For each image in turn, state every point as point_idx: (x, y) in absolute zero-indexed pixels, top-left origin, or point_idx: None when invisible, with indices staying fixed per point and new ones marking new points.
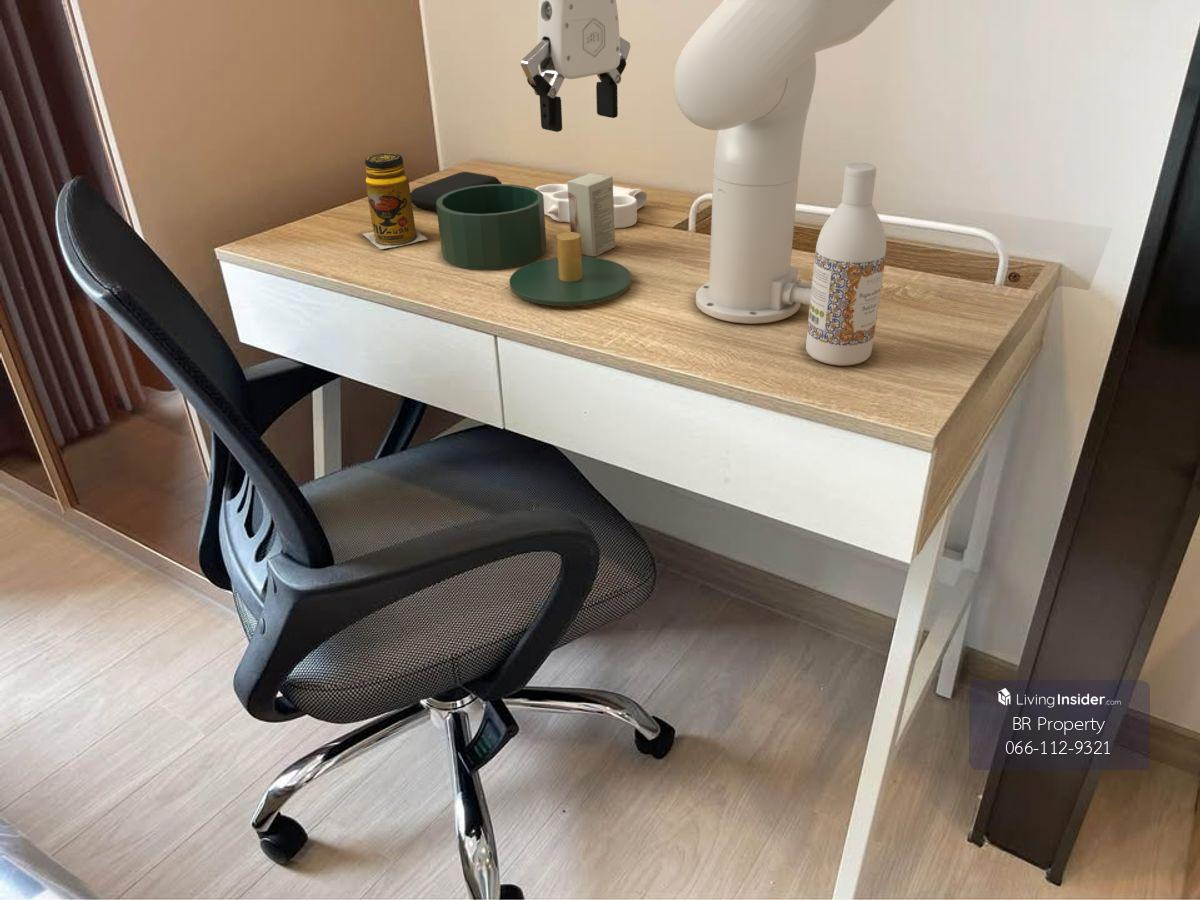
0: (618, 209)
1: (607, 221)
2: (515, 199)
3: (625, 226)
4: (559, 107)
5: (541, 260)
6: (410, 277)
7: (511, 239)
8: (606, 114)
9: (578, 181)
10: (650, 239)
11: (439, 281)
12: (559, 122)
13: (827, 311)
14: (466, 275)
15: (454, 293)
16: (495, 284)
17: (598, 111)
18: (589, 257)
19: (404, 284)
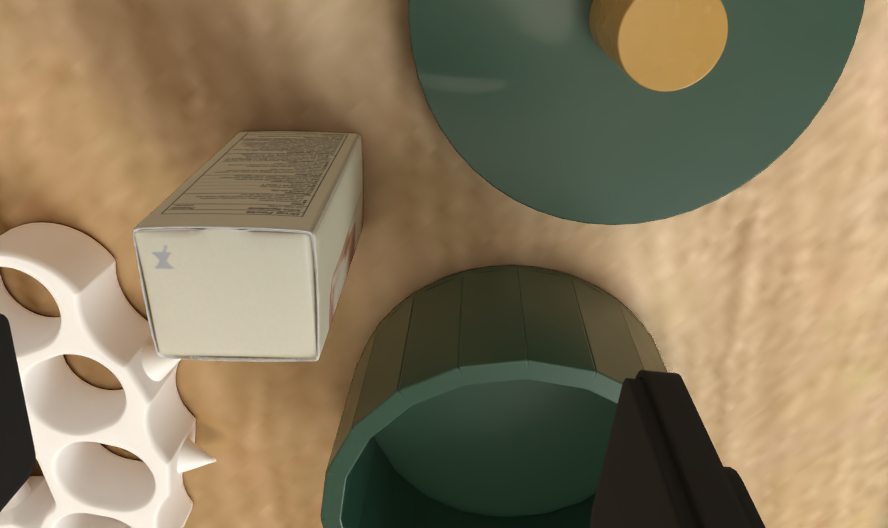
0: (62, 268)
1: (251, 161)
2: (357, 513)
3: (73, 229)
4: (714, 509)
5: (548, 212)
6: (793, 448)
7: (598, 326)
8: (11, 383)
9: (293, 315)
10: (88, 83)
11: (784, 373)
12: (684, 409)
13: None
14: (707, 346)
15: (847, 280)
16: (729, 232)
17: (20, 469)
18: (429, 96)
19: (845, 428)
